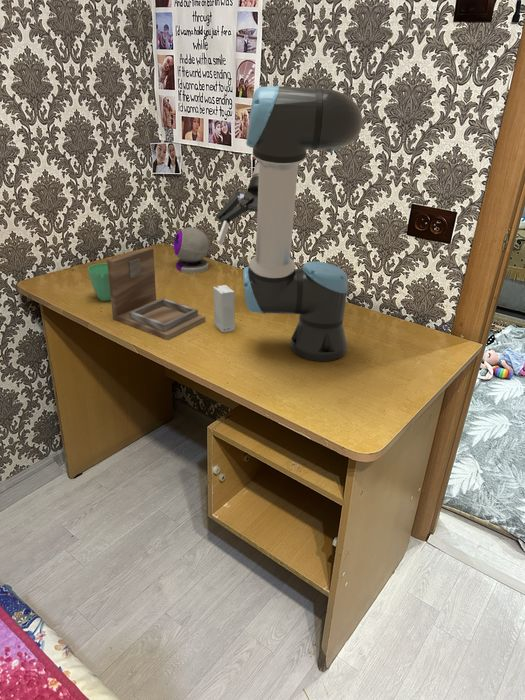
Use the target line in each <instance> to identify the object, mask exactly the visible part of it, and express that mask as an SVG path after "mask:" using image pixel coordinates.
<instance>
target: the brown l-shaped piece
mask: <svg viewBox="0 0 525 700" xmlns="http://www.w3.org/2000/svg"><path fill="white" fill-rule="evenodd" d="M154 253H155V252H154V248H152V247H146V248H143V249H139V250H136V251H133V252H129V253H126V254H123V255H120V256H116V257H114V258H110V259H107V260H106V261H107V262H106V263H107V265H108V275H109V285H110V295H111V300H110V302H111V314H112V315H111V316H112V319H113V320H115V321H117V322H120V323H123V324H125V325H128V326H129V327H133V328H135V329H138V330H141V331H143V332H146V333H148V334H151V335H154V336H155V337H159V338H161V339H164V340H167V341H170V340H171V339H173V338H176V337H177V336H179V335H181V334H183V333H185V332H187V331H189V330H191V329H193V328H195V327H197V326H199V325H201V324H204V323H205V322H206V316H204V315H202V314H199V311H198V309H197V308H194V307H190V306H188V305H184V304H182V303H179V302H176V301H173V300H170V299H167V298H165V297H162V298H159V299H157V293H156V290H157V289H156V274H155V273H156V272H155V256H154V255H155V254H154Z"/></svg>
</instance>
